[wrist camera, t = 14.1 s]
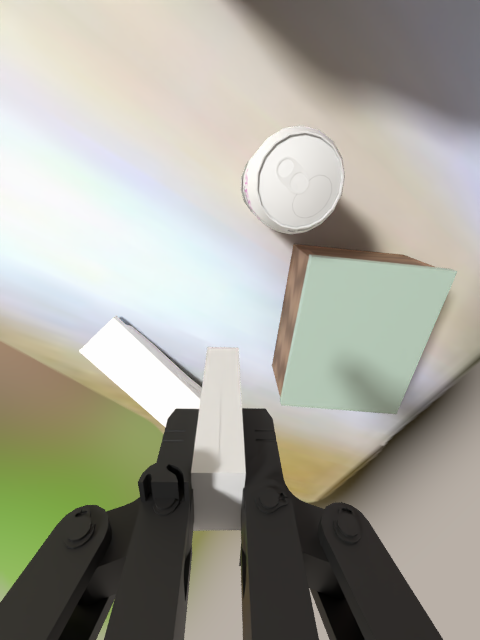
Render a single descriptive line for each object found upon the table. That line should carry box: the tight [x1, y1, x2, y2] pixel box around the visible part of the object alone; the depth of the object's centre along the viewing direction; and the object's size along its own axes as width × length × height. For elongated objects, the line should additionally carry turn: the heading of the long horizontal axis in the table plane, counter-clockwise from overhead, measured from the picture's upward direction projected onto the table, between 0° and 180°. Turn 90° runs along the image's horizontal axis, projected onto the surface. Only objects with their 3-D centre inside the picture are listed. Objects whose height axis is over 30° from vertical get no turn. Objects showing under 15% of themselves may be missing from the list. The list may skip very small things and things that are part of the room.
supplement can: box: [241, 125, 345, 234], centre depth 29 cm, size 8×8×15 cm
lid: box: [280, 254, 457, 414], centre depth 36 cm, size 21×16×1 cm
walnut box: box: [272, 244, 434, 397], centre depth 41 cm, size 20×17×8 cm
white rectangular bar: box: [79, 316, 202, 427], centre depth 48 cm, size 10×7×28 cm
